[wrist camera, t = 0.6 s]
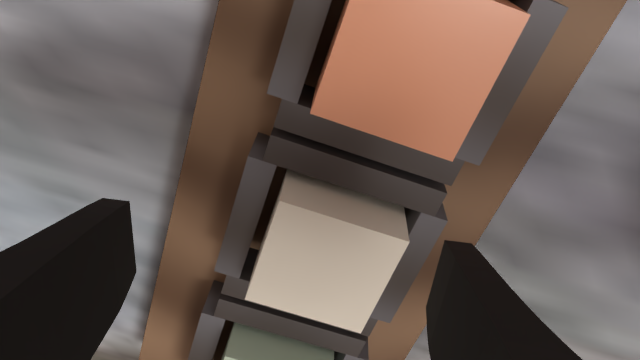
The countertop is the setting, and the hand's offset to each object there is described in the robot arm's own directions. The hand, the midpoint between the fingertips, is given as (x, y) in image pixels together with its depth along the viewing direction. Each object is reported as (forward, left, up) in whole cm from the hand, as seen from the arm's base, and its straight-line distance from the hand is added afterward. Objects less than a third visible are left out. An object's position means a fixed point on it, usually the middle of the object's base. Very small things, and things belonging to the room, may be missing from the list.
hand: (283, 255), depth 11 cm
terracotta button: (-1, -4, -7) cm, 8 cm away
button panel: (-3, +3, -10) cm, 10 cm away
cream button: (-3, +3, -6) cm, 8 cm away
